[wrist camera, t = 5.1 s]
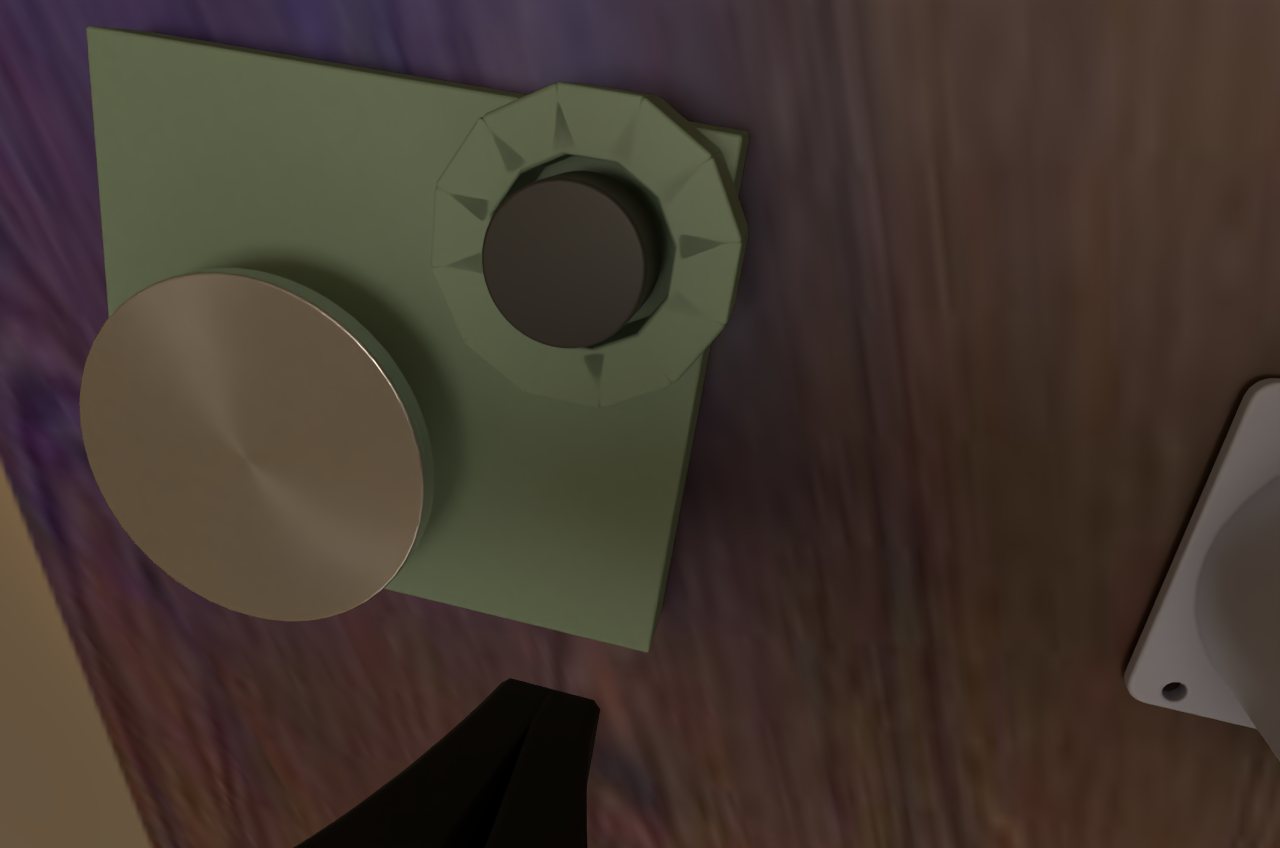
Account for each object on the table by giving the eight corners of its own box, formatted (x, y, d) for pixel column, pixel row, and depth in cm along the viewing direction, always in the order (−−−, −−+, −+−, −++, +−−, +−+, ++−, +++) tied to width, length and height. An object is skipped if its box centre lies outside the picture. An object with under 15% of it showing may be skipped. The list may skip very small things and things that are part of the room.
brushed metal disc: (447, 307, 17) (435, 314, 17) (424, 643, 20) (413, 658, 20) (84, 234, 18) (61, 239, 18) (112, 565, 21) (93, 577, 21)
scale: (776, 112, 18) (766, 115, 15) (678, 616, 23) (655, 701, 20) (146, 9, 20) (17, -8, 17) (173, 495, 25) (75, 555, 21)
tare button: (673, 185, 16) (659, 194, 15) (648, 341, 17) (633, 364, 16) (516, 158, 16) (488, 163, 15) (502, 313, 18) (473, 332, 16)
